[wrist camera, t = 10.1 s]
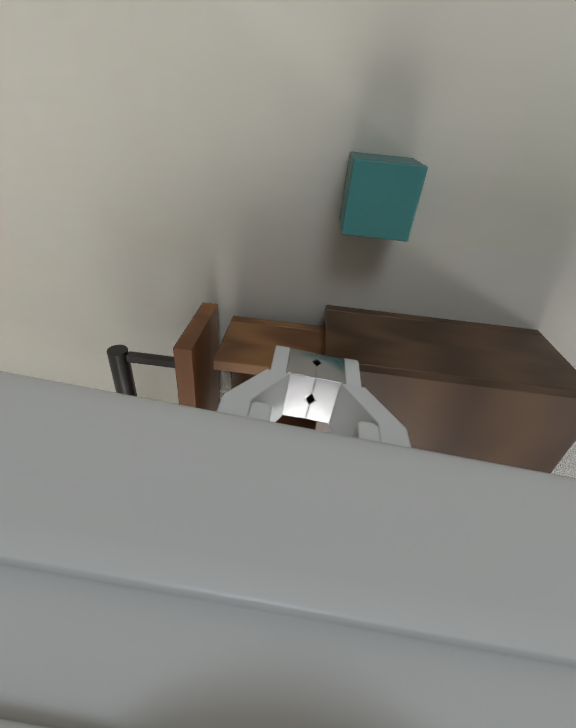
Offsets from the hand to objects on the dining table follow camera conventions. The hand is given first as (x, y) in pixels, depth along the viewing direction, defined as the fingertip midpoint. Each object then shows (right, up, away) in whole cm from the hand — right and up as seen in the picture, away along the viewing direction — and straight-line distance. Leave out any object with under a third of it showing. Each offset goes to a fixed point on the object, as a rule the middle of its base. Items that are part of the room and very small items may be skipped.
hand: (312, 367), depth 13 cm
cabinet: (+10, -1, +19) cm, 21 cm away
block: (+5, +12, +11) cm, 16 cm away
